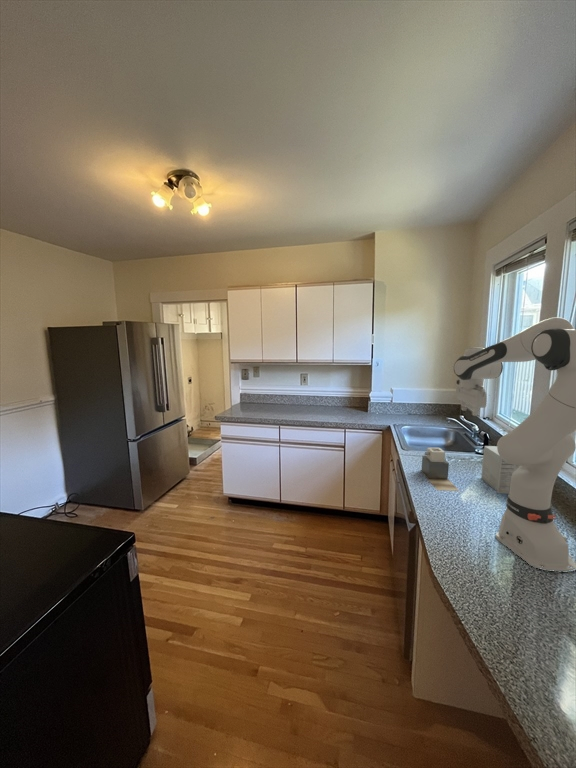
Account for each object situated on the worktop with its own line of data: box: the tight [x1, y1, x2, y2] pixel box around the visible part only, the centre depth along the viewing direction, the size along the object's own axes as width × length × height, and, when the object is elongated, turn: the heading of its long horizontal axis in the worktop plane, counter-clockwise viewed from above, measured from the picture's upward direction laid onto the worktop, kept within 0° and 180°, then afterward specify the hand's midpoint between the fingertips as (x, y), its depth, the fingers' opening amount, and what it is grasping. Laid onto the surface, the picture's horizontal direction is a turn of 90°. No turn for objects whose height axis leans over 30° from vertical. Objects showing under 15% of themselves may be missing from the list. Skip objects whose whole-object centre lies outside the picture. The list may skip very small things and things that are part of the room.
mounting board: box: [420, 470, 460, 492], centre depth 148 cm, size 21×10×2 cm, turn 177°
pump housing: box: [424, 447, 446, 462], centre depth 151 cm, size 6×8×5 cm
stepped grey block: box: [420, 455, 450, 480], centre depth 152 cm, size 9×9×11 cm
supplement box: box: [481, 445, 519, 495], centre depth 142 cm, size 13×13×18 cm
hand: (469, 412), depth 143 cm, fingers open, 8 cm apart
